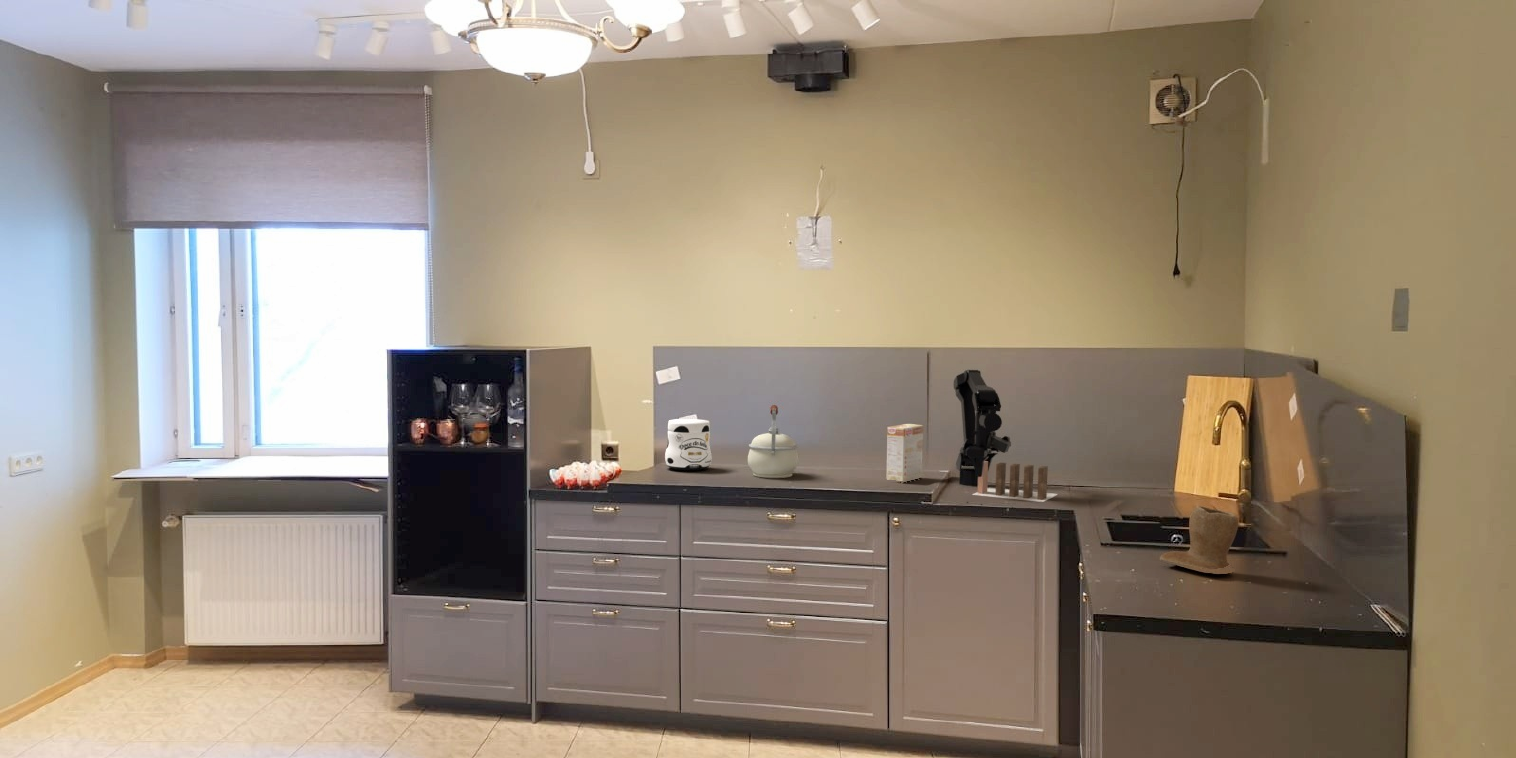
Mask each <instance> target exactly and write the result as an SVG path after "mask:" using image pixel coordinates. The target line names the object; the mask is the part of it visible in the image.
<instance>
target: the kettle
mask: <svg viewBox="0 0 1516 758" xmlns="http://www.w3.org/2000/svg"><path fill="white" fill-rule="evenodd" d="M778 410H779V409H778V406H777V405H776V404H774V405H771V406H770V409H769V411H770V412H769V413H770V414H771V426H770V427H769V429H768V432H767V433H761V434H759V435H757V436H755V437H754V438H753V439H752V440H751V443H749V444H748V447H749V450H748V455H747V464H748V467H749V468H750V470H751V471H752V472H753V473H752V475H753V476H755V477H758V478H765V479H785V478H790V477H792V476H793V472H794V471H795V470H796V469H797V467H798V465H799V454H798V451H797V449H798V447H799V446H798V445H797V444H796V441H795V440H794V439H793V438H792V437H791V436H790V435H787V434H785V433H779V431H780V429H779V428H778V427H777V425H776V424H777V423H776V422H777V415H778V413H779V411H778Z"/></svg>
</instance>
